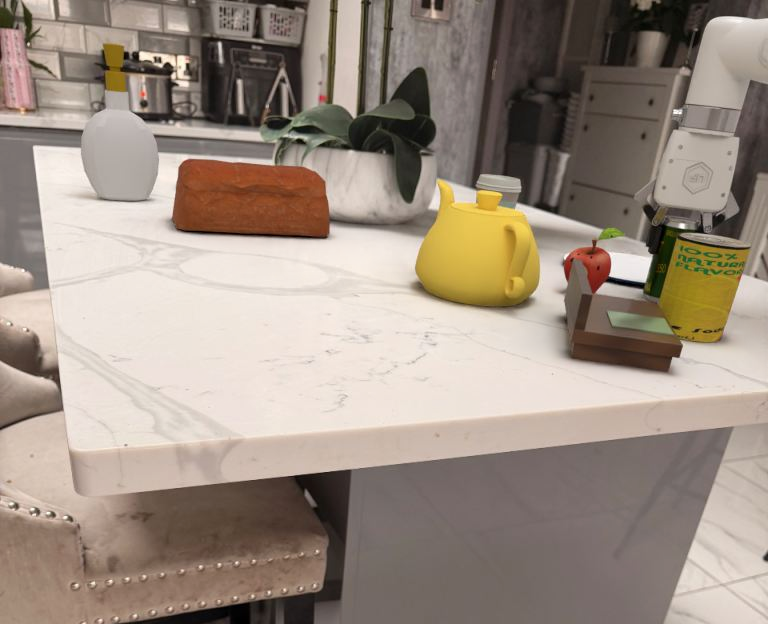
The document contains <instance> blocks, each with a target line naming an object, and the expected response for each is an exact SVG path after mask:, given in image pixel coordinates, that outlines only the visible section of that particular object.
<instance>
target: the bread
mask: <svg viewBox="0 0 768 624" xmlns="http://www.w3.org/2000/svg"><path fill="white" fill-rule="evenodd" d="M326 185H327V183H326V181H325V179H324V178H323V177H322V176H321V175H320V174H319V173H318V172H317V171H316V170H312V169H310V168H308V167H305V166H297V165H282V164H281V165H280V164H275V165H274V164H273V165H271V164H262V163H261V164H260V163H250V162H241V161H233V162H231V161H230V162H229V161H225V160H218V159H208V158H207V159H206V158H187V159H185V160H182V162H181V163H180V164H179V166H178V169H177V179H176V183H175V192H174V193H175V194H174V200H173V208H172V216H171V220H172V222H173V223H174V225H175V228H176V229H178V230H182V231H186V232H187V231H188V232H189V231H192V232H194V231H195V232H209V233H229V234H230V233H231V234H244V235H245V234H246V235H273V236H301V237H319V238H321V237H325V238H326V237H328V236H329V235H330V233H331V218H330V217H331V216H330V215H331V214H330V206H329V204H330V203H329V199H328V196H327V186H326Z"/></svg>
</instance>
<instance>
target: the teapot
mask: <svg viewBox="0 0 768 624" xmlns="http://www.w3.org/2000/svg"><path fill="white" fill-rule="evenodd" d="M436 182H437V186H438V189H439V196H440V199H439V206H438V212H437V216H436V218H435V222H434V223H433V224H432V226H431V228H430V229H429V231H428V232H427V234H426V235H425V237H424V239H423V240H422V243H421V245H420V248H419V250H418V253H417V256H416V260H415V264H414V265H415V266H414V270H415V274H416V276H417V278H418V280H419V282H420V283H421V285H422V286H423V288H424V290H425V291H427V293H430V294H431V295H433V296H435V297H437V298H441V299H444V300H446V301H447V300H448V301H451V302H455V303H459V304H466V305H471V306H482V307H511V306H516V305H519V304H522V303H523V302H524V301H525V300H527V299H528V298H529V297H530V296H532V294H533V293H534V292H535V291H536V290H537V288H538V287H539V284H540V278H541V264H540V263H541V262H540V256H539V255H540V254H539V248H538V246H537V242H536V239H535V236H534V233H533V230H532V227H531V225H530V222H529V221H528V218H527V216H526V214H525V213H524V212H523V211H521V210H518V209H516V208H515V209H511V208H506V207H501V206H498V204H499V202H500V200H501V198H502V196H503V195H502V194H501V193H498V192H493V191H484V190H480V191H477V190H476V195H477V201H478V203H476V202H455V195H454V191H453V189H452V187H451V185H450V184H449V183H448V182H446V181H445V180H443V179H437V180H436Z"/></svg>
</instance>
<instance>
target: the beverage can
mask: <svg viewBox="0 0 768 624" xmlns="http://www.w3.org/2000/svg"><path fill="white" fill-rule="evenodd" d="M751 248H752V244H751V243H748V242H746V241H743V240H740V239H736V238H731V237H727V236H722V235H717V234H710V233H708V234H702V233H691V232H683V233H678V236H677V239H676V243H675V247H674V250H673V254H672V257H671V261H670V265H669V268H668V272H667V275H666V279H665V283H664V286H663V290H662V293H661V297H660V300H659V303H657V304H658V305H659V307H660V308H661V310H662V312H663V313H664V315H665V317H666V318H667V320H668V321H669V323H670V325H671V326H672V328H673V330H674V331H675V333H676V334H677V336H678V338H679V339H680V340H685V341H691V342H700V343H716V342H719V341H720V340H722V337H723V334H724V332H725V328H726V325H727V322H728V319H729V316H730V313H731V309H732V306H733V305H734V301H735V298H736V294H737V291H738V288H739V285H740V282H741V280H742V276H743V273H744V269H745V267H746V264H747V261H748V258H749V255H750V251H751Z"/></svg>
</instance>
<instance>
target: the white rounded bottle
mask: <svg viewBox="0 0 768 624" xmlns="http://www.w3.org/2000/svg"><path fill="white" fill-rule="evenodd" d="M102 49H103V53H104V58H105V63H106V66H107V67H109V70H104V76H105V89H104V98H105V99H104V101H105V108H104V109H102V110H100V111H98V112H96V113H94V114H93V115H92V116H91V117H90V118H89V120H88V121H86V123H85V124H84V127H83V131H82V135H81V137H80V138H81V139H80V140H81V141H80V142H81V143H80V157H81V161H82V167H83V171H84V173H85V175H86V177H87V179H88V181H89V183H90V185H91V187H92V189H93V191H94V192H95V193H96V196H98V197H100V198H101V199H104V200H106V201H122V202H141V201H145V200H147V199H148V198H149V197H150V195H151V193H152V191H153V189H154V187H155V184H156V181H157V179H158V175H159V164H160V157H159V156H160V155H159V148H158V143H157V141H156V138H155V136H154V133H153V131H152V129H151V128H150V127H149V125H148V124H147V123H146V122H145V121H144V119H143V118H141V116H139V115H137V114H135V113H134V112H132V111H131V110H130V99H129V96H130V95H129V91H127V78H126V72H124V71H121V68H124V55H125V45H122V44H117V43H109V42H106V43H102Z"/></svg>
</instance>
